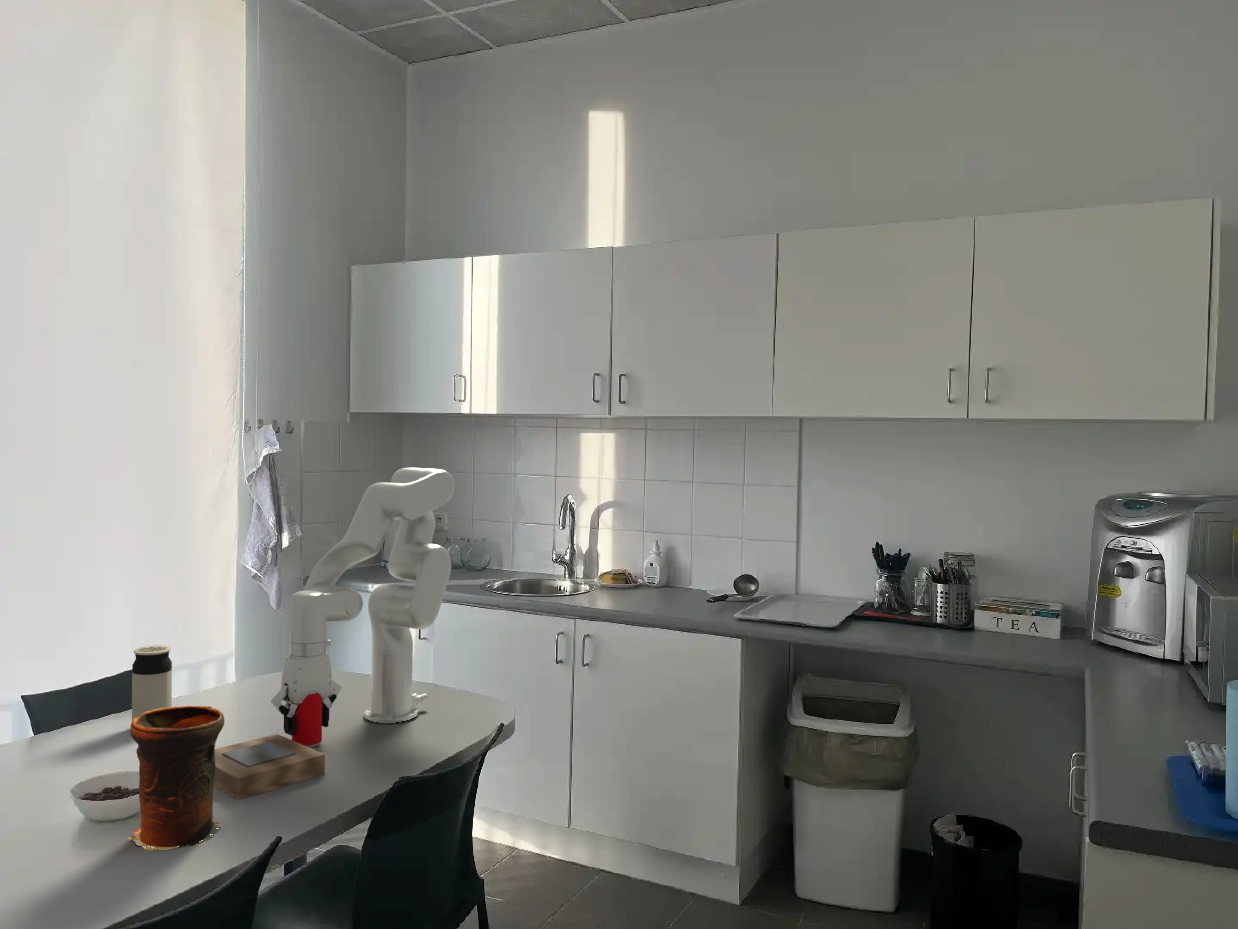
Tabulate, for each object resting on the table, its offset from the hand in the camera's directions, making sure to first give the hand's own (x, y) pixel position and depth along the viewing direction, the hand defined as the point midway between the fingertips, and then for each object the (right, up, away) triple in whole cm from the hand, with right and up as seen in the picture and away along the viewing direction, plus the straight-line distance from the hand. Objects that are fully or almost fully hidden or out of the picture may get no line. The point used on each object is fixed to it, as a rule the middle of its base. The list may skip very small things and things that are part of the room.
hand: (306, 729), depth 205 cm
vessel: (-7, -5, -45) cm, 46 cm away
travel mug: (-38, -2, +8) cm, 39 cm away
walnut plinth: (-4, -4, -18) cm, 19 cm away
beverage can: (0, -4, 0) cm, 4 cm away
